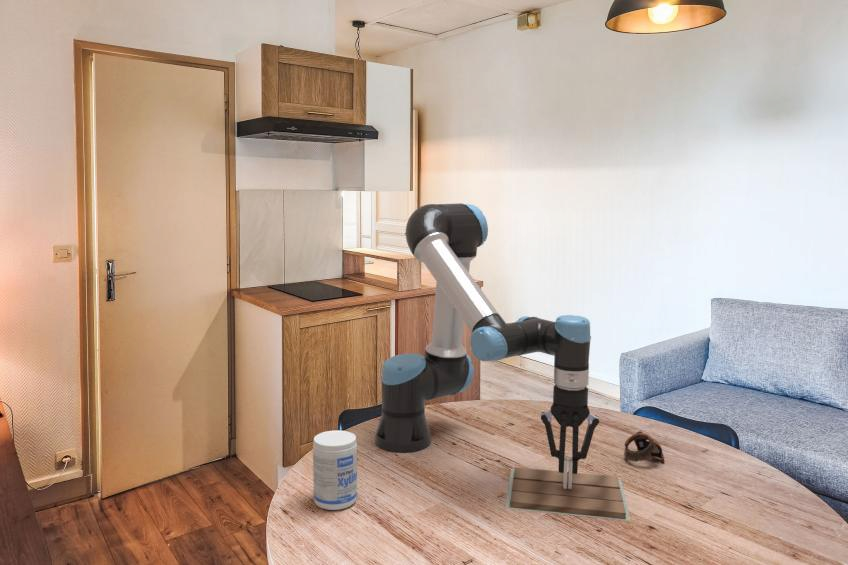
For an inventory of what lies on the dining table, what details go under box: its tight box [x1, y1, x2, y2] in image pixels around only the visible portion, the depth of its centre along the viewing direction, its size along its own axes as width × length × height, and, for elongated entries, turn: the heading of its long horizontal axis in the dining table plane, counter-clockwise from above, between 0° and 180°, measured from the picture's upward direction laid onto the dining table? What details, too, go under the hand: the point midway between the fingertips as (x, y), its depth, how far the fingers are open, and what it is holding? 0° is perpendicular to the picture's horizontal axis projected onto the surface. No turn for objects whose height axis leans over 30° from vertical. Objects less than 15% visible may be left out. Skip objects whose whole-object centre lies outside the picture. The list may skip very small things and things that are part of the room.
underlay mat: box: [505, 469, 632, 522], centre depth 146 cm, size 26×20×1 cm
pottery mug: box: [623, 431, 665, 464], centre depth 165 cm, size 12×10×8 cm
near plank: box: [512, 479, 623, 502], centre depth 145 cm, size 24×6×1 cm, turn 79°
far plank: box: [513, 466, 620, 489], centre depth 151 cm, size 24×6×1 cm, turn 79°
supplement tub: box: [312, 429, 358, 511], centre depth 141 cm, size 10×10×15 cm
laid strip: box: [510, 491, 626, 518], centre depth 139 cm, size 24×5×1 cm, turn 79°
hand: (567, 486), depth 146 cm, fingers closed
